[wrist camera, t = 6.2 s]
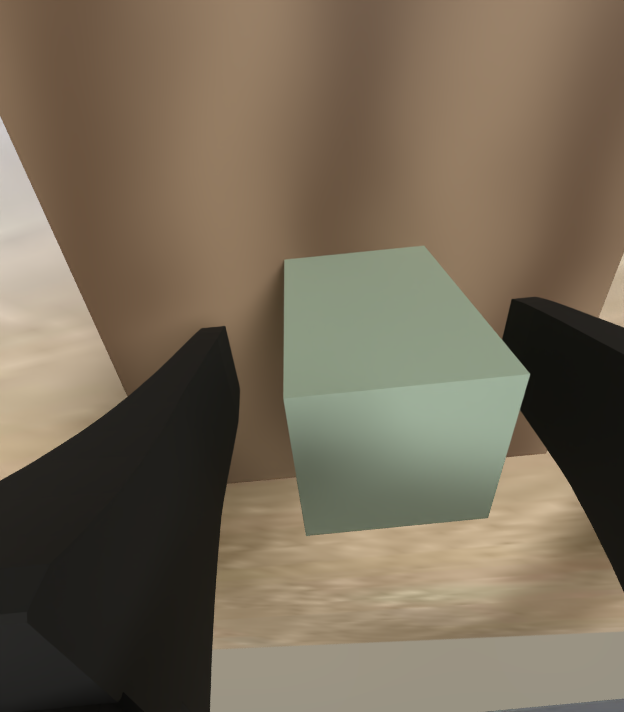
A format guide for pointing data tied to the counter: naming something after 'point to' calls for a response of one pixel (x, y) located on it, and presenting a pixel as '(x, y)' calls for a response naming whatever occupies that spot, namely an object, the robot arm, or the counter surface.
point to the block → (393, 392)
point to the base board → (313, 162)
